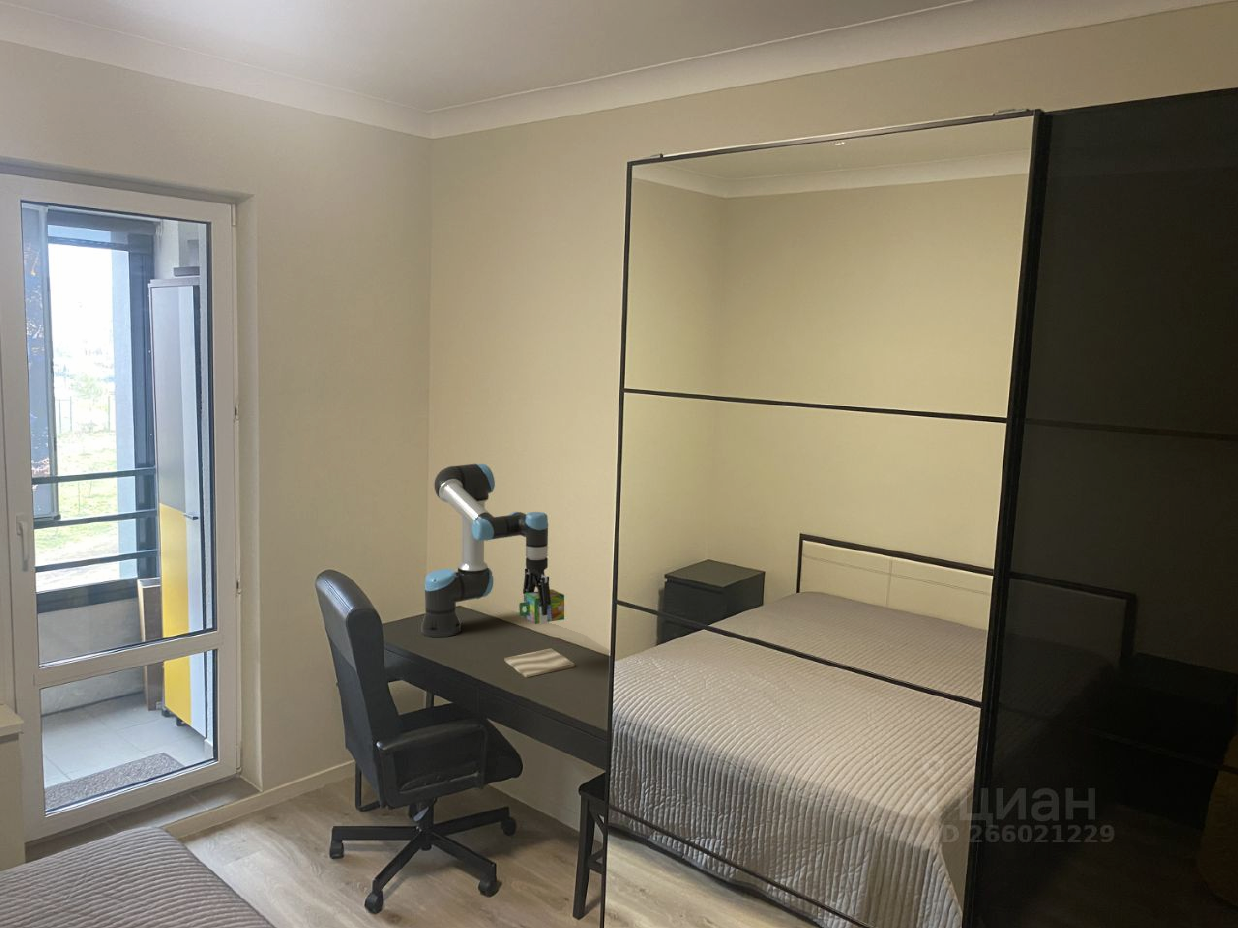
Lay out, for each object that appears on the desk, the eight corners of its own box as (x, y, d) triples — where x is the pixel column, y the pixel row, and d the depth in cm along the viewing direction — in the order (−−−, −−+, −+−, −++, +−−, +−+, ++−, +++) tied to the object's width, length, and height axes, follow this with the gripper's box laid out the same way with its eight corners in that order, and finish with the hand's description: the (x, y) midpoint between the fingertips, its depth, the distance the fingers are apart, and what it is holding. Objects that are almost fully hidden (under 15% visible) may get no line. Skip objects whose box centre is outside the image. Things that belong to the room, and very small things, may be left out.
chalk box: (565, 619, 308) (527, 626, 300) (552, 613, 316) (515, 620, 308) (564, 593, 307) (526, 600, 299) (552, 588, 314) (514, 594, 306)
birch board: (504, 660, 312) (504, 658, 312) (551, 650, 323) (551, 648, 322) (525, 677, 298) (525, 674, 298) (574, 666, 309) (574, 663, 308)
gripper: (561, 563, 297) (561, 626, 300) (532, 548, 315) (531, 608, 318) (542, 566, 292) (541, 630, 296) (513, 551, 311) (513, 612, 314)
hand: (536, 619), depth 307 cm, fingers closed on chalk box, 9 cm apart
